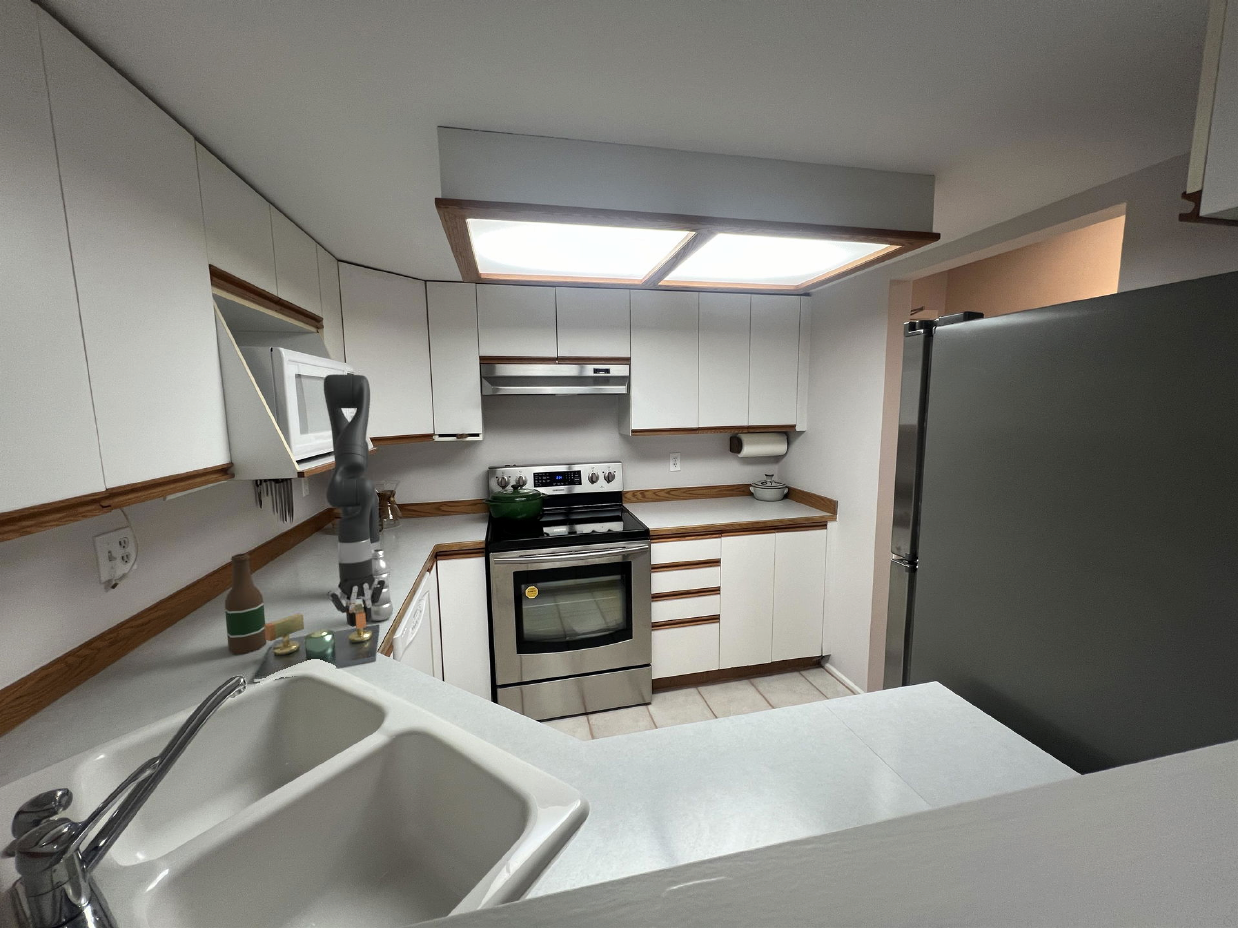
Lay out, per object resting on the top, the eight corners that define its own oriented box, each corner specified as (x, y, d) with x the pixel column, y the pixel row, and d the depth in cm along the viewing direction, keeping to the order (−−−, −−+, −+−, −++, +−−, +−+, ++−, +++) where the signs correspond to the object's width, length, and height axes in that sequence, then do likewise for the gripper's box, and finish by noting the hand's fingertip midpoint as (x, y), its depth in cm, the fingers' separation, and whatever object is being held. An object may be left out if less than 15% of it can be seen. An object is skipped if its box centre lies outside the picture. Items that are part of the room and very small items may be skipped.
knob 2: (347, 634, 130) (345, 606, 129) (369, 629, 133) (368, 601, 132) (350, 646, 123) (348, 616, 123) (373, 640, 126) (372, 611, 125)
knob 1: (296, 641, 126) (294, 611, 126) (308, 645, 124) (306, 615, 123) (263, 654, 120) (260, 623, 119) (275, 658, 117) (272, 627, 116)
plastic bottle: (383, 624, 140) (379, 554, 138) (362, 622, 141) (358, 553, 139) (398, 615, 146) (394, 548, 144) (377, 613, 147) (373, 547, 145)
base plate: (275, 645, 128) (273, 619, 127) (379, 628, 137) (378, 604, 136) (253, 683, 109) (251, 653, 109) (375, 660, 119) (374, 633, 118)
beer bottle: (274, 642, 129) (267, 551, 127) (244, 656, 122) (236, 560, 119) (251, 639, 131) (243, 549, 129) (220, 653, 124) (212, 558, 121)
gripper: (376, 549, 134) (380, 611, 136) (318, 561, 123) (323, 629, 125) (390, 553, 129) (393, 618, 131) (331, 566, 118) (336, 637, 120)
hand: (359, 623), depth 128 cm, fingers closed on knob 2, 3 cm apart
